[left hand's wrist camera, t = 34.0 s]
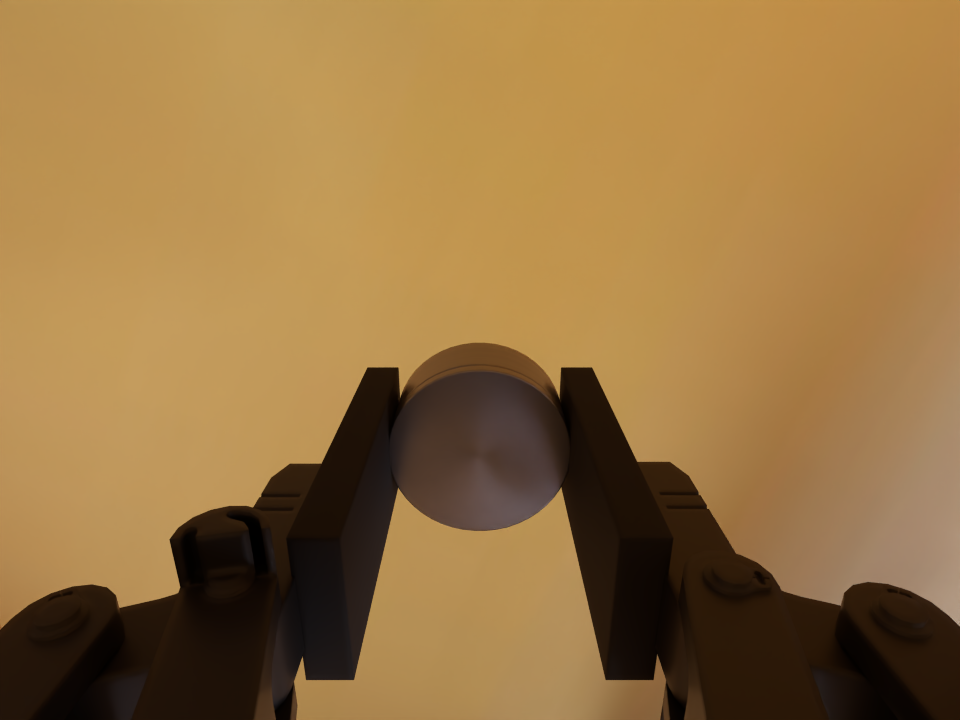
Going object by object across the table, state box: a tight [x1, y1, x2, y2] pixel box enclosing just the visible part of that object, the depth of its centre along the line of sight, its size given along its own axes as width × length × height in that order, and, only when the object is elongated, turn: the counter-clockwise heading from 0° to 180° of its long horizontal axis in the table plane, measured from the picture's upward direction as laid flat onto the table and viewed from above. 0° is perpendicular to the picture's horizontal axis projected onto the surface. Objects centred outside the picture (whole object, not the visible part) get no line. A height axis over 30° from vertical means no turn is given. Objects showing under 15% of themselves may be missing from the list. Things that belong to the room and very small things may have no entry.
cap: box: [389, 343, 570, 531], centre depth 14 cm, size 4×4×2 cm
